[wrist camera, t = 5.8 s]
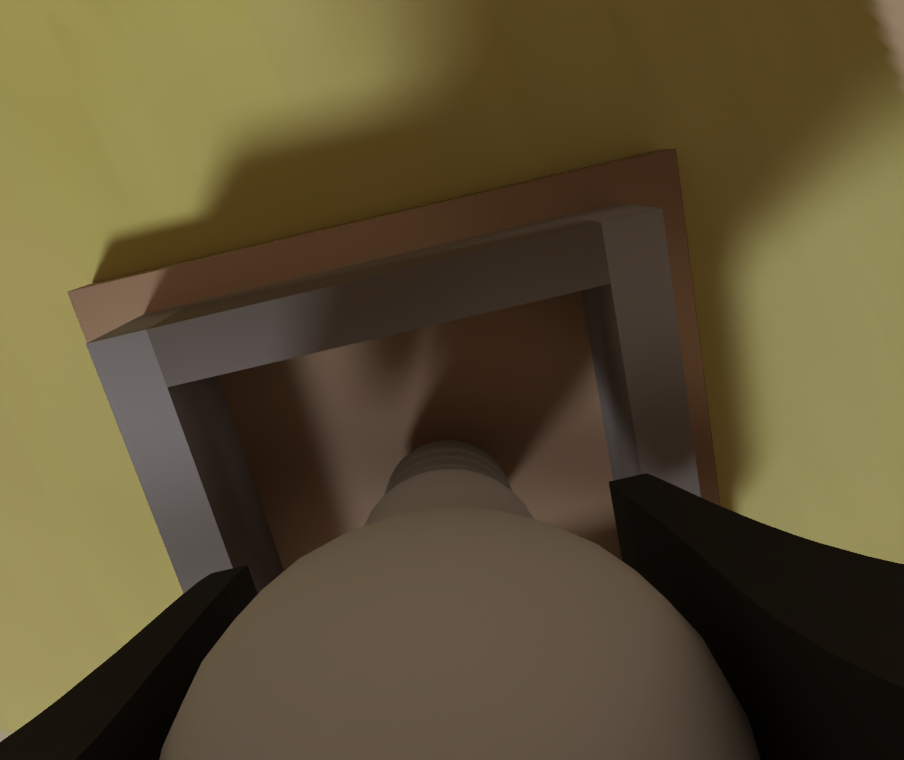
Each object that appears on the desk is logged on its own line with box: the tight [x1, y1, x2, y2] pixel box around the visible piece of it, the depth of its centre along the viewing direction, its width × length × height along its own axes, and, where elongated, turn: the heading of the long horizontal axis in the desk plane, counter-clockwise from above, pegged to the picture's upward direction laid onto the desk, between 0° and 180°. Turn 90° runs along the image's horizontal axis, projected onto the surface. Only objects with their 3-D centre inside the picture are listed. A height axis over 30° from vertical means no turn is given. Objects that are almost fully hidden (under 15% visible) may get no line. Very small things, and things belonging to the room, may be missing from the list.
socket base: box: [68, 148, 720, 594], centre depth 14 cm, size 11×12×4 cm
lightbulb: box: [159, 440, 761, 760], centre depth 10 cm, size 6×6×11 cm
